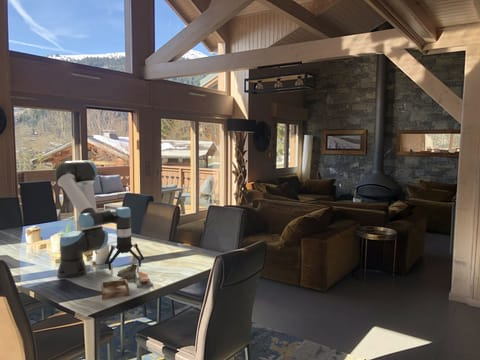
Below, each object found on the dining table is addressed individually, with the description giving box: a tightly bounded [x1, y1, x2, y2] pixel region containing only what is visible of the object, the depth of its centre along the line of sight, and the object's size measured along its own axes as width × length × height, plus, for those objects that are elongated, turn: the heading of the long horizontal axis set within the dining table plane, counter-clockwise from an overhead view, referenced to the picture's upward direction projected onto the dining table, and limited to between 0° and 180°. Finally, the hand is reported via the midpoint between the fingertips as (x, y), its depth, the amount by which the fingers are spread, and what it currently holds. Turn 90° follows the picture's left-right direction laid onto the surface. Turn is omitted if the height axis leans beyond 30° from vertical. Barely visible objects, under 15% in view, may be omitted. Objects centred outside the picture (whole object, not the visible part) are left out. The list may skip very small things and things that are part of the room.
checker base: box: [134, 274, 154, 289], centre depth 201 cm, size 8×12×3 cm, turn 22°
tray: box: [100, 278, 130, 300], centre depth 189 cm, size 13×16×3 cm
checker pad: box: [137, 271, 149, 282], centre depth 201 cm, size 4×11×1 cm, turn 22°
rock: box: [116, 263, 137, 280], centre depth 207 cm, size 11×6×10 cm
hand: (125, 274), depth 205 cm, fingers open, 13 cm apart
